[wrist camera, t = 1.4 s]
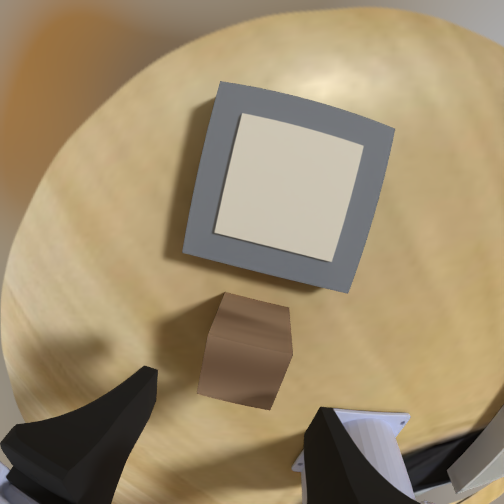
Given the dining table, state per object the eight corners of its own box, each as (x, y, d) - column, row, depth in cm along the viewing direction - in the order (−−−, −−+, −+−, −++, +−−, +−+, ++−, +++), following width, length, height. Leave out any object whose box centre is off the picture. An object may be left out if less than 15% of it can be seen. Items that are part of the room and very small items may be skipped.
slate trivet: (340, 280, 17) (348, 295, 15) (192, 243, 17) (181, 253, 15) (381, 133, 14) (396, 128, 12) (226, 91, 14) (219, 80, 12)
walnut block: (272, 358, 19) (270, 410, 14) (213, 344, 19) (196, 393, 14) (289, 307, 18) (292, 354, 13) (225, 291, 18) (207, 334, 13)
